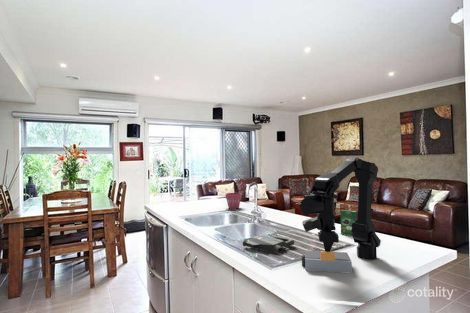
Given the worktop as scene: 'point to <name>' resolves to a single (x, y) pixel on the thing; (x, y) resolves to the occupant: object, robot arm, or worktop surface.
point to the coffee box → (347, 221)
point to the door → (328, 263)
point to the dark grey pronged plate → (269, 243)
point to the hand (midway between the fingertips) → (327, 254)
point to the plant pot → (233, 200)
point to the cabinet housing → (317, 256)
